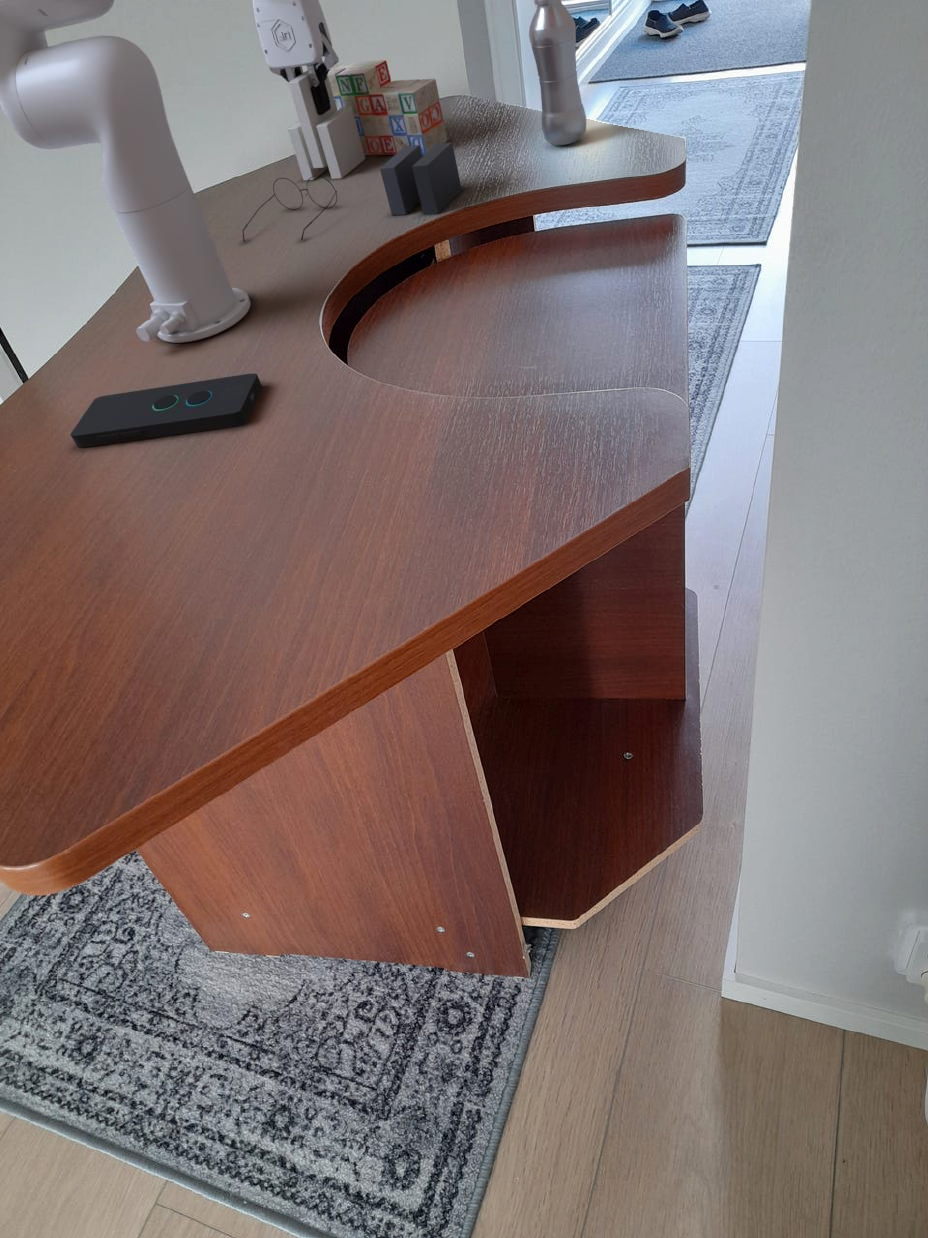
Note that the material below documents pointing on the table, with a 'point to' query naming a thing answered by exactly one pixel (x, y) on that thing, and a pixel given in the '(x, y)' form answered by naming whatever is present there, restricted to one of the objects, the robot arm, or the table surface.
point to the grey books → (421, 179)
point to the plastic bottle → (557, 72)
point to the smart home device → (168, 410)
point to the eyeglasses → (299, 207)
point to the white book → (310, 115)
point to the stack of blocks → (388, 107)
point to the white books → (330, 145)
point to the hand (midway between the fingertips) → (317, 111)
